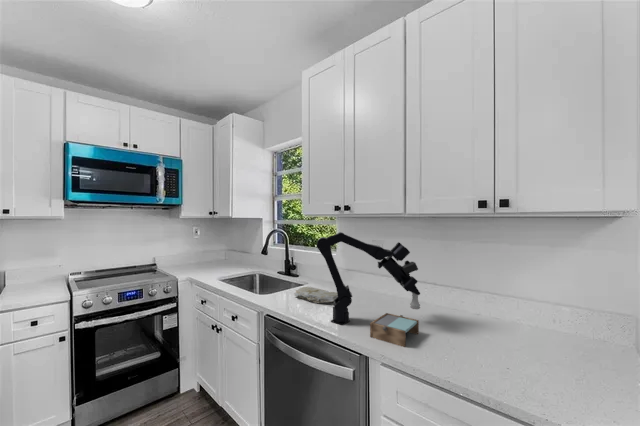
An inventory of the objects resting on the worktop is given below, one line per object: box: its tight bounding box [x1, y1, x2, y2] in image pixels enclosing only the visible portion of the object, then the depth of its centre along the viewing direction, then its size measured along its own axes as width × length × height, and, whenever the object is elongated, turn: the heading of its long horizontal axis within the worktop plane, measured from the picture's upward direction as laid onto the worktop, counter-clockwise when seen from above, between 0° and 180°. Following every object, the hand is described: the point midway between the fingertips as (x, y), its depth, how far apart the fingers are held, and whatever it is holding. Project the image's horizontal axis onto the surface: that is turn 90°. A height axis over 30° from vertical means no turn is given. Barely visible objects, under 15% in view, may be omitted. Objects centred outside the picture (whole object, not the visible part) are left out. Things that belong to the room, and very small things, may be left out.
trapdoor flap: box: [375, 315, 417, 333], centre depth 115 cm, size 12×12×2 cm
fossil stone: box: [293, 286, 338, 304], centre depth 164 cm, size 28×15×5 cm, turn 47°
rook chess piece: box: [409, 292, 421, 310], centre depth 130 cm, size 4×4×8 cm
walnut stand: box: [369, 312, 420, 348], centre depth 116 cm, size 14×16×6 cm
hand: (418, 293), depth 130 cm, fingers closed on rook chess piece, 3 cm apart
